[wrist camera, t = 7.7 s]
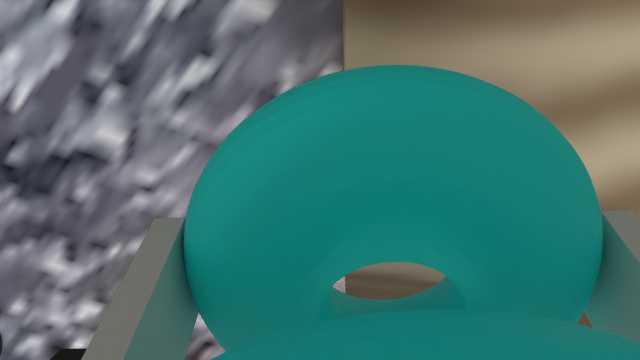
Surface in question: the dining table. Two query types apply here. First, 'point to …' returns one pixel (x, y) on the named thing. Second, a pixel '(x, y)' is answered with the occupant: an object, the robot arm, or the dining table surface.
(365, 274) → the display stand
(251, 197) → the donuts
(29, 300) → the dining table surface
